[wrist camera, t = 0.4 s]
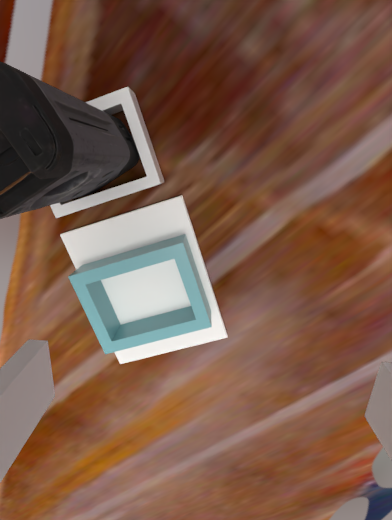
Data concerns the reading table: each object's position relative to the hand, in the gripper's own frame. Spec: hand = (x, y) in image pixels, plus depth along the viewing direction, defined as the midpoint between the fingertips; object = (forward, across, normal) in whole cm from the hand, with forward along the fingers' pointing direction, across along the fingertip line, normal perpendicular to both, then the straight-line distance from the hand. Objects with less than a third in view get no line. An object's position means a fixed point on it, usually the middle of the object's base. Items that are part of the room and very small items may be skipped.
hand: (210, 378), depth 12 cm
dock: (+26, -7, -8) cm, 28 cm away
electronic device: (+27, -13, +8) cm, 31 cm away
